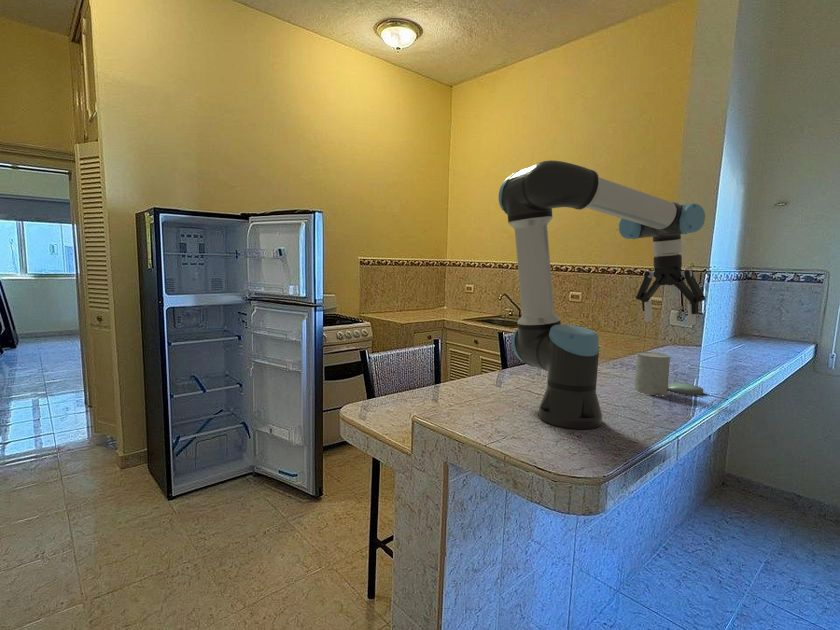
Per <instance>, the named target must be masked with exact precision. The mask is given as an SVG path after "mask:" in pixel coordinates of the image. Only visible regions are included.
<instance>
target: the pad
mask: <svg viewBox="0 0 840 630" xmlns="http://www.w3.org/2000/svg"><path fill="white" fill-rule="evenodd" d="M668 391H670V392H669V393H671V392H674V393H673V394H675V393H679V394H678V395H680V394H685V395H684V396H687V395H701V394H703V395H704V387H700V386H697V385H694V384H689V383H683V382H668ZM668 391H667V392H668ZM701 396H702V395H701Z"/></svg>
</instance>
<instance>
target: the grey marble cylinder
mask: <svg viewBox="0 0 840 630" xmlns="http://www.w3.org/2000/svg"><path fill="white" fill-rule="evenodd" d="M670 361H671V355H670V354H666V353H660V352H651V351H649V352H648V351H638V352H637V353H636V360H635V375H634V376H635V377H634V389H635V390H636V391H638V392H640V393H644V394H649V395H658V396H657V397H663V396H662V395H667V394H668V383H669V377H670V375H669V374H670ZM640 393H639V394H640ZM649 395H648V396H649ZM667 396H668V395H667Z"/></svg>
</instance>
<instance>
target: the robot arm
mask: <svg viewBox="0 0 840 630" xmlns="http://www.w3.org/2000/svg"><path fill="white" fill-rule="evenodd" d="M498 204H499V206H500V208H501V211H503V212H504V214H506V215H507V223H508V224H509V226H510V227H512V228H513V229H514V237H515V249H516V261H517V271H518V282H519V293H520V295H519V297H520V307H521V317H520V318H518V320H517V324H516V325H517V328H516V330H515V332H514V333H513V335H512V339H511V345H512V346H511V348H512V350H513V352H514V355H515V357H517V359H518V360H519V361H521V362H522V363H524V364H526V365H527V366H530V367H532V368H533V367H534V368H538V369H540V370H543V371H546V372H547V384H546V389H545V391H544V393H543V394H544V395H543V396H542V398H541V402H540V404H539V406H538V418H539V419H540V420H541V421H543V422H545V423H547V424H549V425H553V426H556V427H560V428H565V429H572V430H573V429H574V430H591V429H592V430H593V429H595V428H596V429H597V428H598V427H601V425H602V423H603V413H602V409H601V407H600V402H599V399H598V395H597V383H598V382H597V380H598V366H599V356H600V355H599V353H600V345H599V340H600V339H599V335H598V334H597V333H596V332H595V331H594V330H592V329H590V328H587V327H584V326H578V325H577V326H576V325H572V324H562V323H561V317H560V316H559V315H557V314H556V313H555V308H554V297H553V295H554V294H553V283H552V272H551V258H550V255H551V254H550V245H549V233H548V225H549V223H550V222H551V220H552V219H553V217H554V216H553V209H556V208H557V209H558V208H569V209H570V208H571V209H574V210H577V211H579V210H580V211H581V210H584V209H589V210H593V211H595V212H599V213H602V214H606V215H610V216H612V217H617V218H618V219H619V218H620V219H619V222H618V231H619V234H620V236H621V237H622V238H624V239H626V240H637V239H644V238H645V239H646V238H652V250H653V251H652V253H653V255H655V256H654V257H653V268H654V271H653V270H647V271H644V273H643V275H644V276H643V280H642V283H641V284H640V287H639V289H638V292H637V294H636V296H635V299H636V300H637V301H638V300H639V301H641V303H642V306H641V307H642V308H641V309H642V311H643V312H644V323H650V322H653V308H652V307H653V305H652V303H653V302H652V300H651V298H652V297H653V296H654V295H655V294H656V292H657V291H658V290H659V288H660V287H661V286H674V287H676V288H677V289H678V291H680V292H681V293H682V295H683V296H684V297H685V298H686V299H687V300H688V302H689V303H687V325H688V326H694V325H696V323H697V321H696V318H697V317H696V315H697V314H699V303H701V302H703V301H706V296H705V295H704V292H703V291H702V289H701V287H700V285H699V283H698V281H697V279H696V278H695V275H694V274H695V273H694V270H693V269H686V270H683V269H682V266H683V258H682V257H683V256H682V254H681V252H682V235H688V234H693V233H697V232H699V231H700V230H701V229H702V228H703V226H704V225H705V220H706V212H705V210H704V208H703V207H702V205H700V204H698V203H685V204H680V203H679V202H676V201H669V200H666V199H663V198H661V197H657V196H655V195H651V194H650V193H649V194H648V193H646V192H642V191H640V190H637V189H634V188H632V187H628V186H625V185H623V184H620V183H617V182H614V181H612V180H608V179H605V178H603V177H600V176H599V174H598V172H597V171H596V170H594V169H591V168H587V167H586V166H585V167H584V166H582V165H578V164H576V163H575V164H574V163H569V162H567V161H566V162H565V161H562V160H561V161H560V160H554V159H553V160H550V159H549V160H543V161H540V162H537V163H535V164H534V165H531V166H529V167H525V168H523V169H519V170H517V171H515V172H513V173H512V174H511V175H509V176H508V177H507V178H505V179H504V180H503V182H502V183H501V185H500V187H499V191H498ZM682 277H683V278H685V279H684V280H686V283H687V285H688V286H687V285H686V284H685V281H684V280H683V279H682ZM653 278H655V280H654V281H653V282H652V280H653ZM651 283H652V285H651V286H650V284H651ZM649 286H650V287H649Z"/></svg>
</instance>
